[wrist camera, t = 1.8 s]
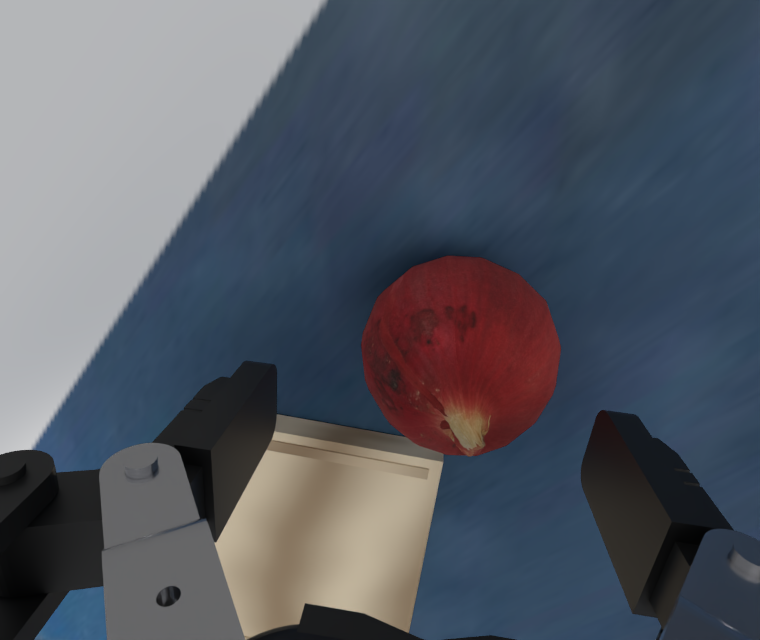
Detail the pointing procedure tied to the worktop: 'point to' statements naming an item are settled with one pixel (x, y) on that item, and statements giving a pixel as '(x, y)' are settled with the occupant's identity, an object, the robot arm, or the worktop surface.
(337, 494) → the board
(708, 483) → the worktop surface
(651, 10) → the worktop surface
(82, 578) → the robot arm
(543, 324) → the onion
